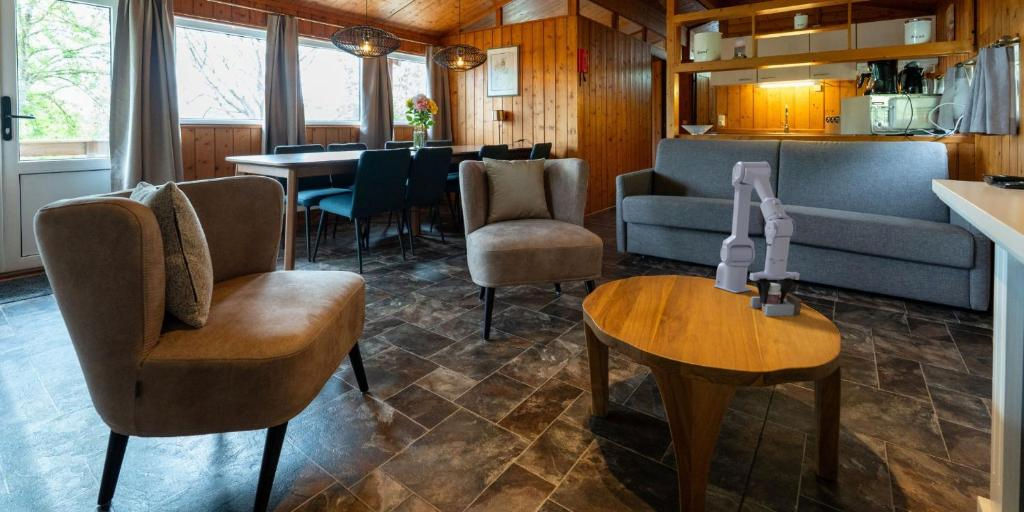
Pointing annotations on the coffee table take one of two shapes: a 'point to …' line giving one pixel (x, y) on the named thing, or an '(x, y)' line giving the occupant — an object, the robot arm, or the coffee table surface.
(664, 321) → the coffee table surface
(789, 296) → the wall
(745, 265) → the robot arm
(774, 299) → the pill bottle
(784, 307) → the cradle
